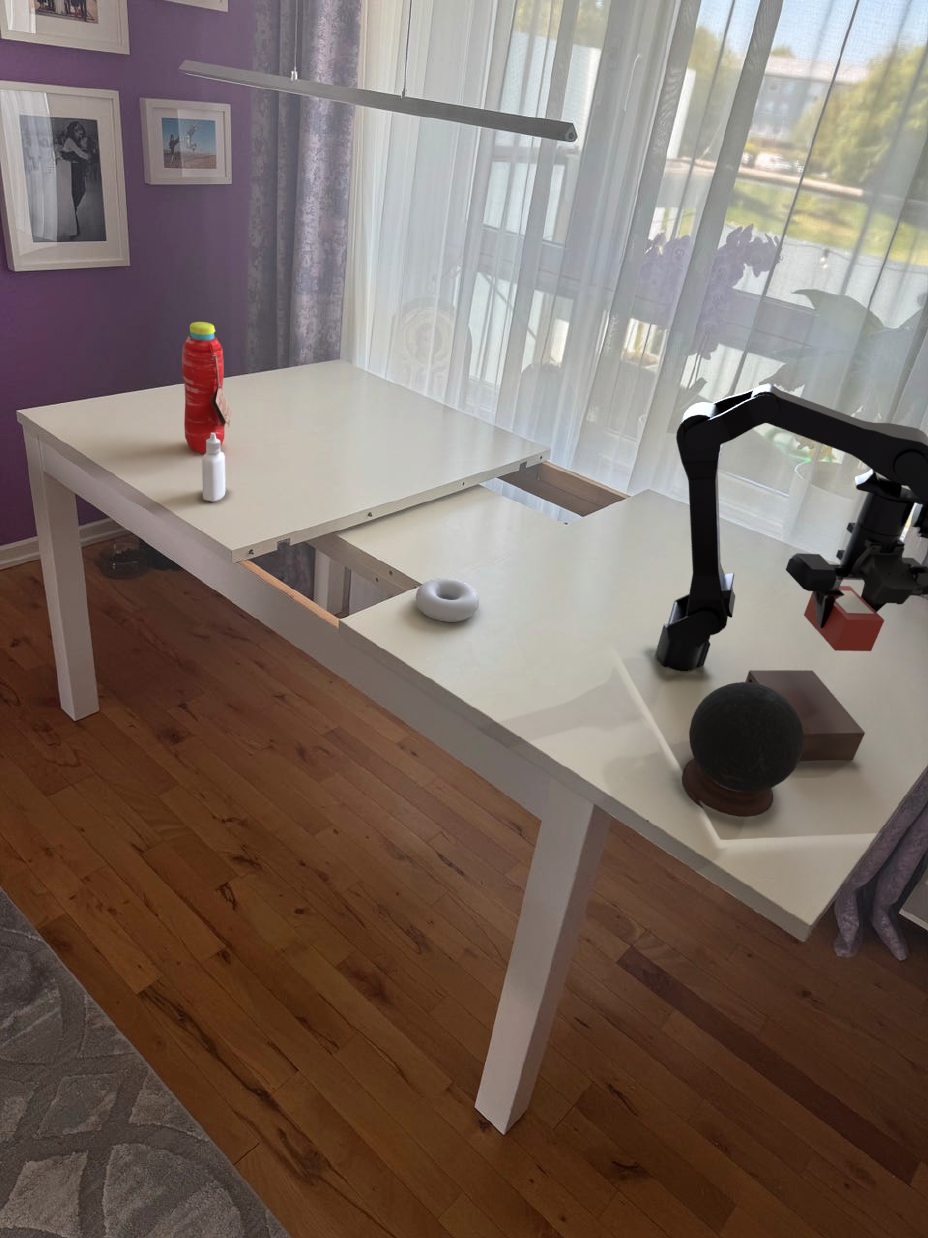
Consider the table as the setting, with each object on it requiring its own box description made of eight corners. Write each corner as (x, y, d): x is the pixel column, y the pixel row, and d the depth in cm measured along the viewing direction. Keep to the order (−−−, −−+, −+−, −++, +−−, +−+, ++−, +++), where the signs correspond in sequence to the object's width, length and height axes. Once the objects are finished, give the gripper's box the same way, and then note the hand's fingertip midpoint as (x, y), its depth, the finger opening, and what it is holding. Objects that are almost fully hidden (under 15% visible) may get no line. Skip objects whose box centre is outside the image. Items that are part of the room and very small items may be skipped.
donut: (456, 634, 136) (489, 607, 144) (459, 615, 135) (492, 588, 142) (401, 610, 140) (436, 585, 148) (403, 591, 138) (438, 567, 146)
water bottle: (243, 457, 182) (243, 331, 169) (208, 465, 176) (206, 336, 163) (210, 437, 188) (207, 314, 175) (175, 444, 183) (170, 318, 170)
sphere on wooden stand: (785, 777, 117) (823, 683, 109) (772, 842, 106) (814, 743, 99) (685, 742, 121) (715, 648, 113) (663, 801, 110) (695, 703, 102)
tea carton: (834, 650, 122) (847, 618, 119) (803, 615, 129) (815, 584, 127) (871, 651, 123) (884, 619, 120) (838, 616, 131) (850, 585, 128)
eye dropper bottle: (194, 495, 164) (191, 432, 158) (218, 487, 169) (217, 426, 162) (209, 504, 162) (208, 440, 156) (234, 496, 166) (233, 433, 160)
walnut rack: (783, 766, 119) (796, 734, 116) (738, 700, 131) (749, 670, 128) (851, 764, 121) (865, 732, 118) (800, 700, 133) (812, 670, 130)
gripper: (846, 553, 109) (804, 659, 117) (980, 558, 113) (931, 661, 121) (803, 512, 118) (767, 613, 127) (928, 518, 122) (885, 616, 130)
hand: (838, 627), depth 126 cm, fingers closed on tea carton, 5 cm apart
